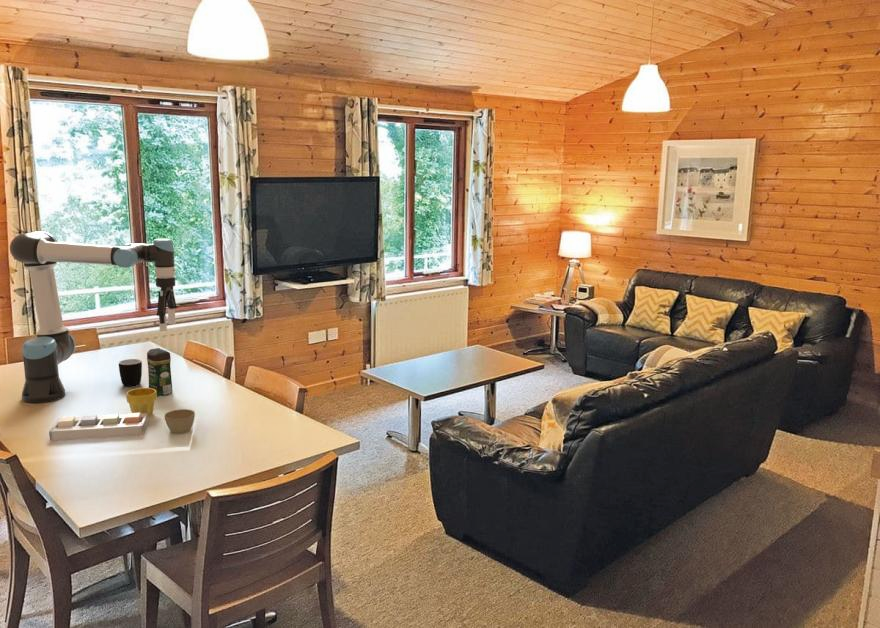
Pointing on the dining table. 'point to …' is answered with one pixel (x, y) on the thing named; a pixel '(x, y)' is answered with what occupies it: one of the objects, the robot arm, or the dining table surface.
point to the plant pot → (142, 400)
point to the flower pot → (179, 420)
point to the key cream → (66, 422)
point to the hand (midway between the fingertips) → (167, 327)
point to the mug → (130, 372)
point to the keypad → (99, 429)
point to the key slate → (89, 420)
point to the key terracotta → (132, 418)
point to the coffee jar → (159, 371)
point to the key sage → (111, 419)
